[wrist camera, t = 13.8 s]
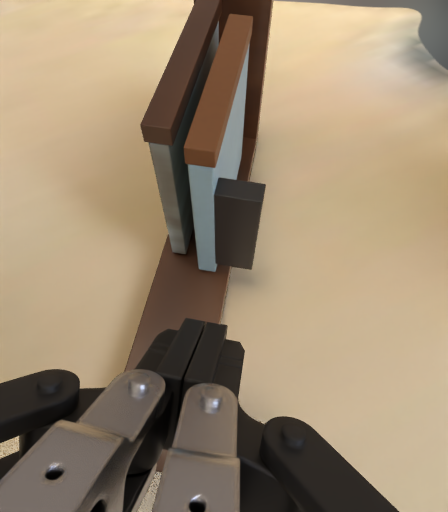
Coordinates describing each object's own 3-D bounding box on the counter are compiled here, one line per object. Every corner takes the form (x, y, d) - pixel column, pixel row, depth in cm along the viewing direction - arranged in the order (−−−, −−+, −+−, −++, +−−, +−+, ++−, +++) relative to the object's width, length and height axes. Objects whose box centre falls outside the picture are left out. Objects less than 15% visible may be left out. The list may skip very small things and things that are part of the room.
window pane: (270, 161, 30) (293, 20, 20) (250, 278, 25) (269, 159, 15) (226, 155, 30) (229, 13, 21) (196, 269, 25) (182, 147, 15)
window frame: (256, 142, 34) (275, -20, 22) (189, 477, 20) (151, 491, 9) (204, 135, 34) (196, -28, 23) (104, 458, 21) (-34, 449, 9)
